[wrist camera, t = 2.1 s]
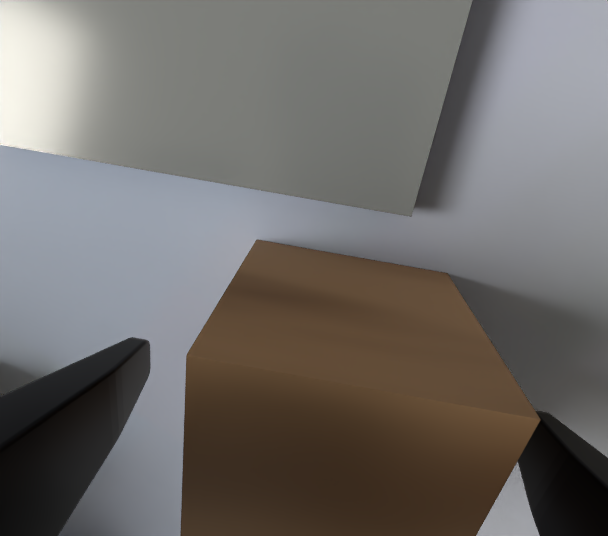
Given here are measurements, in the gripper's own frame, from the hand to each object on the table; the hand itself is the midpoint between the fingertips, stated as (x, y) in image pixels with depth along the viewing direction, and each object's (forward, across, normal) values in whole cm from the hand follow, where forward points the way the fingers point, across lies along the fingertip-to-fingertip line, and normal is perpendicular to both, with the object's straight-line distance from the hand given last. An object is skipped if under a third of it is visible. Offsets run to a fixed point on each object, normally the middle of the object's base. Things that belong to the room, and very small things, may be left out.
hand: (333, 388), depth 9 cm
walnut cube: (+2, 0, 0) cm, 2 cm away
